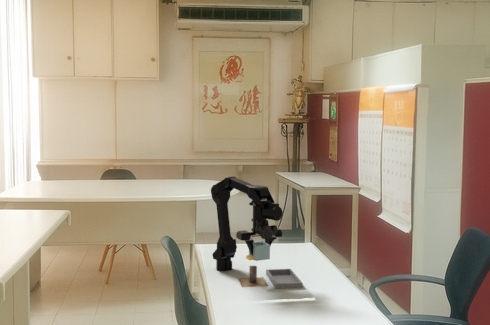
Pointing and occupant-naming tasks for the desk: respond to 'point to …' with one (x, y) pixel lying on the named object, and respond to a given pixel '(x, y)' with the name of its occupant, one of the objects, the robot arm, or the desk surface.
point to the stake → (252, 279)
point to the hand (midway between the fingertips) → (259, 254)
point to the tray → (283, 279)
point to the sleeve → (259, 251)
